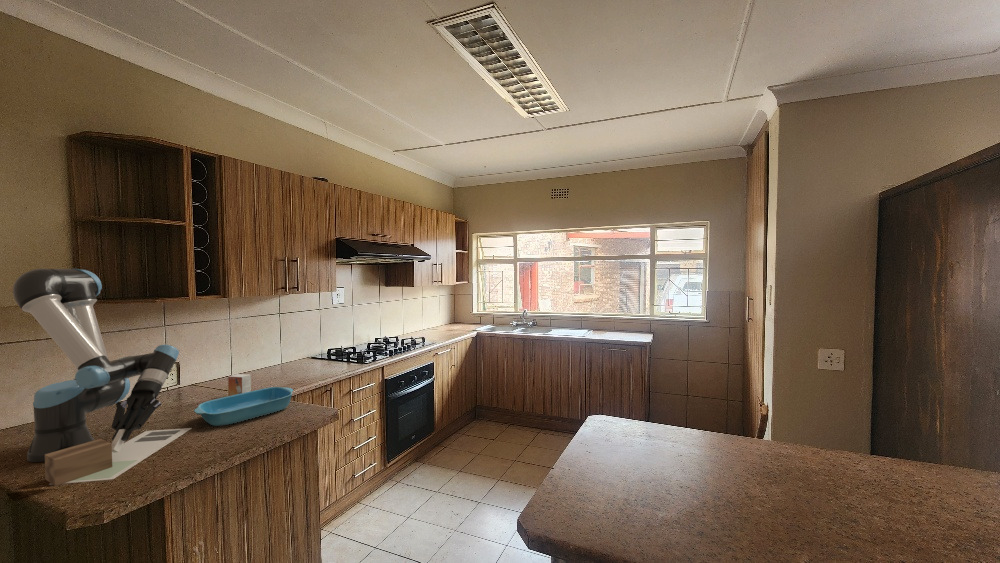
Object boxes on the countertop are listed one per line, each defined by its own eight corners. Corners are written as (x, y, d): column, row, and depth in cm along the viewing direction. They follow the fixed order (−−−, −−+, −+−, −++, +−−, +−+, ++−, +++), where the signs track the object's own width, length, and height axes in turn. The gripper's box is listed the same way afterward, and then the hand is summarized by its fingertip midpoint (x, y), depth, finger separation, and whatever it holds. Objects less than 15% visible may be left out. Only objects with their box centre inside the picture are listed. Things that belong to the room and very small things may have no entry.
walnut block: (45, 479, 113) (44, 454, 113) (101, 461, 124) (100, 438, 124) (55, 486, 109) (54, 460, 109) (112, 466, 120) (111, 443, 120)
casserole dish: (203, 434, 146) (203, 416, 146) (187, 421, 160) (187, 404, 160) (302, 407, 175) (302, 392, 175) (281, 398, 189) (281, 383, 189)
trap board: (48, 486, 110) (48, 484, 110) (146, 432, 148) (146, 430, 148) (113, 481, 113) (112, 479, 113) (192, 429, 151) (192, 427, 150)
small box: (228, 397, 189) (227, 376, 189) (237, 393, 195) (237, 373, 195) (242, 398, 188) (241, 377, 188) (251, 394, 194) (251, 374, 193)
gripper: (174, 388, 143) (143, 453, 127) (134, 390, 140) (97, 456, 124) (164, 378, 137) (130, 444, 121) (122, 380, 135) (82, 448, 119)
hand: (113, 450), depth 123 cm, fingers closed
